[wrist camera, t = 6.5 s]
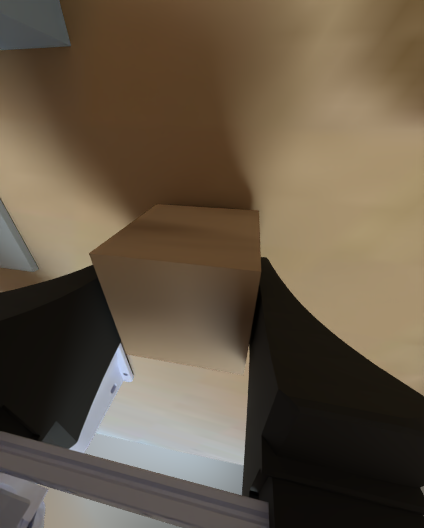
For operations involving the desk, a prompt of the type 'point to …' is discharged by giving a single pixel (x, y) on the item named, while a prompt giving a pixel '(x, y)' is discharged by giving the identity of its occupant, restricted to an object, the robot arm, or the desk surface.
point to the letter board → (13, 246)
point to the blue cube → (32, 24)
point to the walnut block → (184, 284)
